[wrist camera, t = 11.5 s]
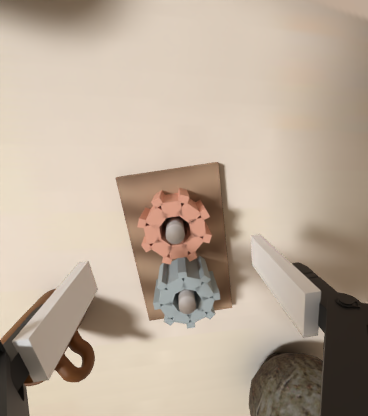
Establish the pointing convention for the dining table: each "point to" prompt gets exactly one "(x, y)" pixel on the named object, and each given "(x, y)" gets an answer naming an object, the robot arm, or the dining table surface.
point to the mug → (64, 364)
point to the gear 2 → (185, 279)
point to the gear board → (197, 191)
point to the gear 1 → (156, 230)
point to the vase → (287, 386)
